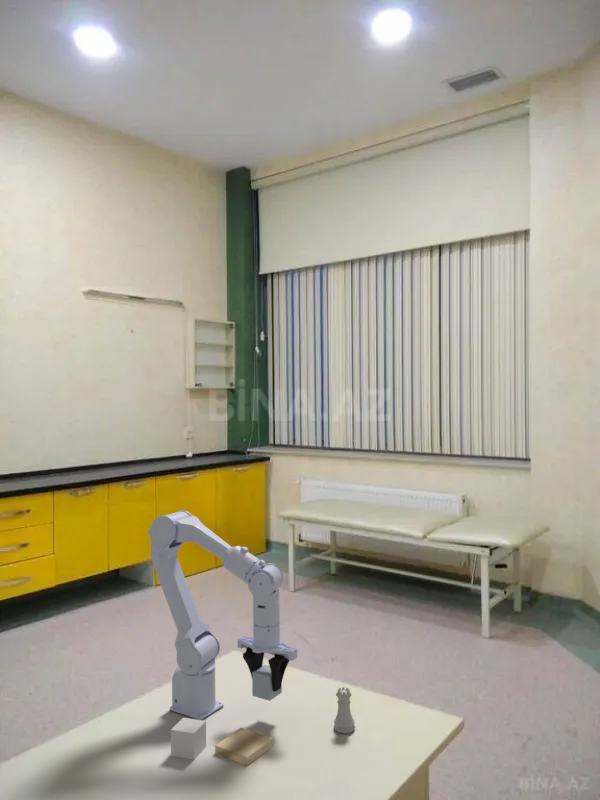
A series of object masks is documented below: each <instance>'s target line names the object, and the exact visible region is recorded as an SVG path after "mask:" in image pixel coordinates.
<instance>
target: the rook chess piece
mask: <svg viewBox="0 0 600 800" xmlns="http://www.w3.org/2000/svg"><path fill="white" fill-rule="evenodd" d="M350 690H351V689H349V688H348V687H346V688H345V687H344V686H342V687H339V688H338V689H337V692H336V694H335V696H336V697H337V701H336V702H337V705H338V706H337V707H338V708H337V712H336V716H335V719H334V721H333V729H334V730H335V731H336V732H337V733H338V734H342V735H343V734H344V735H346V734H351V733H353V731H354V730H355V729H356V725H355V724H356V723H355V719H354V716H353V715H352V712H351V700H350V698H351V697H352V695H353V694H352V693H351V691H350Z"/></svg>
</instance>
